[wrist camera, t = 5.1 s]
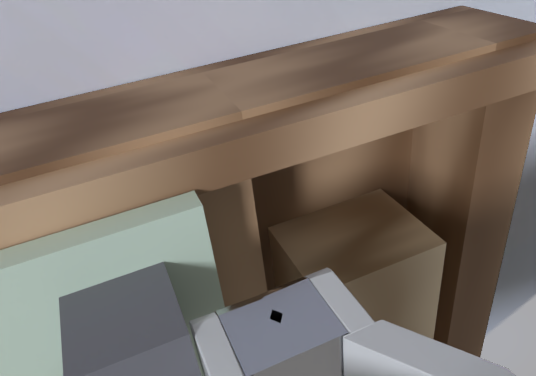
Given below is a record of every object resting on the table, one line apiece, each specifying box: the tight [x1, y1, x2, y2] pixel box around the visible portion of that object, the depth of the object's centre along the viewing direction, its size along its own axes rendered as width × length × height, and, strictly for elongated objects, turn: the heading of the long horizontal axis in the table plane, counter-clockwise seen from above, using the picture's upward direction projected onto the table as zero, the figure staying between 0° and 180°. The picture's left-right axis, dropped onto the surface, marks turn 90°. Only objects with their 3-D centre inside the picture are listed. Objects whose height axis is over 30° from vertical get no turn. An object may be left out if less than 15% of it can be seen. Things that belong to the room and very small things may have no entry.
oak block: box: [268, 189, 447, 339], centre depth 16 cm, size 4×4×4 cm
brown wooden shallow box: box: [0, 6, 536, 357], centre depth 16 cm, size 18×16×4 cm
